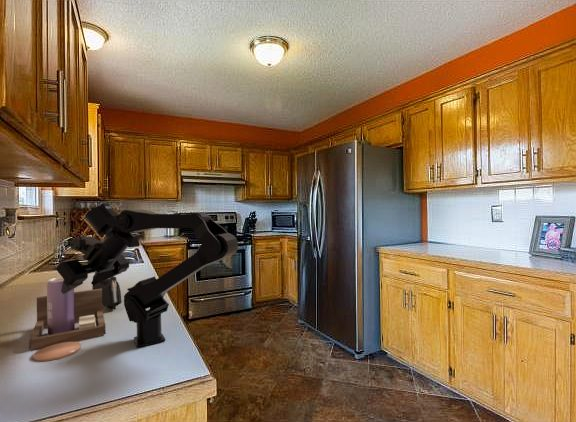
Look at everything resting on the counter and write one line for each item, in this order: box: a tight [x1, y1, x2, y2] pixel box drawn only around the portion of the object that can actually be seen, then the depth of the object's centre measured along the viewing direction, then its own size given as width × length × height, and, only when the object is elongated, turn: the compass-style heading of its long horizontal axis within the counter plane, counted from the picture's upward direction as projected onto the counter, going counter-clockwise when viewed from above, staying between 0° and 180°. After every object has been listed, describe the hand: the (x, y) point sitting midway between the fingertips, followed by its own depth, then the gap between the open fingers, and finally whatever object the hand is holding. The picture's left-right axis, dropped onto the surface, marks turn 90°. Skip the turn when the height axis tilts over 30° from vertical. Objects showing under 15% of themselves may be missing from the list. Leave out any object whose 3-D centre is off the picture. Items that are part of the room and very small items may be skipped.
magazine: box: [91, 272, 123, 310], centre depth 116 cm, size 17×3×30 cm
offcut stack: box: [78, 315, 97, 329], centre depth 87 cm, size 10×4×4 cm, turn 33°
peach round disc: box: [32, 341, 82, 362], centre depth 73 cm, size 9×9×1 cm
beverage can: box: [46, 276, 76, 335], centre depth 85 cm, size 6×6×15 cm
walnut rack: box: [28, 289, 107, 351], centre depth 86 cm, size 18×16×9 cm
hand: (78, 288), depth 84 cm, fingers open, 9 cm apart
